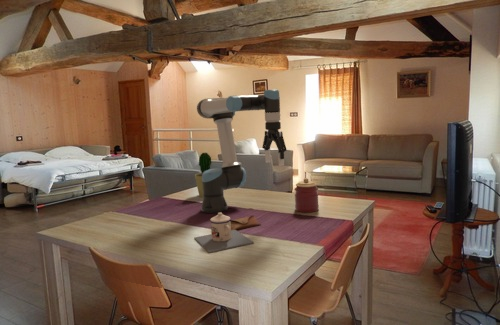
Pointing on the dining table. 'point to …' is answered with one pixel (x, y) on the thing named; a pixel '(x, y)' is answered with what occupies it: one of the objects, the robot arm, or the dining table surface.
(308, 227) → the dining table surface
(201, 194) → the potted cactus
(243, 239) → the charcoal mat
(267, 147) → the robot arm
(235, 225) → the sunglasses case
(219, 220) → the teacup with lid
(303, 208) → the canister
